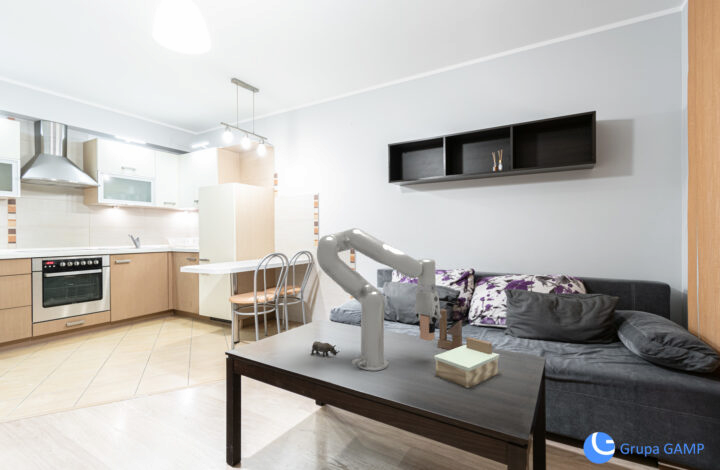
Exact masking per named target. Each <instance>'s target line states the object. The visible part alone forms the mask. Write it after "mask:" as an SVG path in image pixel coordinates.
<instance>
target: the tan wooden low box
mask: <svg viewBox="0 0 720 470" xmlns="http://www.w3.org/2000/svg"><path fill="white" fill-rule="evenodd" d="M498 360H499V358H497V359H495V360H493V361H491V362H489V363H486V364H484V365H482V366H480V367H478V368H475V369H473V370H471V371H466V370H463V369H461V368H458V367H455V366H452V365H449V364H446V363H444V362H441V361H438V360H435V376H436V377H438V378H440V379H444V380H446V381H449V382H450V383H451V382H452V383H453V384H457V385H459V386H462V387H464V388H466V389H470V388H473V387H474V386H476V385H478V384H480V383H482V382H484V381H486V380H488V379H490V378H491V377H492V378H493V377H494V376H496V375H497V374H498V375H499V373H498V372H499V371H498V369H499V368H498V364H499V363H498V362H499V361H498Z"/></svg>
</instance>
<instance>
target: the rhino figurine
mask: <svg viewBox="0 0 720 470" xmlns="http://www.w3.org/2000/svg"><path fill="white" fill-rule="evenodd" d="M336 346H337V344H335V345H332V344H330V343H328V342H321V341H314V342H313V344H312V346H311V353H310V354H311V356H314V355H315V354H317V355H320V353H322V355H321V357H322V358H325V357H326V356H327V357H328V356H330V354H331V355H332V356H337V354H339V352H340V350H338V351H337V349H335V347H336ZM329 352H330V353H329Z"/></svg>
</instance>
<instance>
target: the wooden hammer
mask: <svg viewBox="0 0 720 470" xmlns="http://www.w3.org/2000/svg"><path fill="white" fill-rule="evenodd" d="M440 314H441V316H442V317H441V318H440V319H438V324H439V325H438V326H439V327H438V328H439V330H438V331H439V333H438V334H439V335H438V337H439V339H437V347H438V348H440V349H444V350H447V351H449V350H452V349H455V348H458V347H461V346H463V320H462V319H461V320H459V321H457V322H456V323H455V324H454V325H453V326H452V327H450V329H448V311H447V309H445V308H440ZM448 335H449V336H451V339H448Z"/></svg>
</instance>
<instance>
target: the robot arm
mask: <svg viewBox="0 0 720 470" xmlns="http://www.w3.org/2000/svg"><path fill="white" fill-rule="evenodd" d="M349 250H355V251H356V252H358V253H360V254H362V255H364V256H365V257H367V258H369V259H371V260H372V261H375V263H376V262H377V263H379V264H381V265H385V266H387V267H389V268H391V269H393V270H395V271H397V272H399V273H400V274H401V275H402V276H404V277H407V278H409V279H417V290H416V294H415V302H414V306H415V308H414V309H413V314H415V316H416V317H417V320H418V322H419V323H418V324H419V325H418V326H419V331H420V315H426V316H429V319H430V324H429V333H434V332H435V333H436V323H437V322H439V319H440V318H441V317H442V316H441V314H440V309H441V306H440V298H439V294H438V291H437V290H438V286H437V285H436V283H437V282H436V279H437V278H436V261H435V260H434V259H432V258H420V259H416V258H414V257H412V256H409V255H408V254H406V253H404V252H402V251H400V250H399V249H396V248H395V247H393V246H392V245H389V244H388V243H386V242H384V241H383V240H380V239H378V238H376V237H375V236H373V235H371V234H369V233H367V232H366V231H364V230H361V229H360V228H356V227H355V228H350V229H347V230H344V231H343V230H342V231H340V232H336V233H332V234H327V235H324V236H322V237H321V238H320V239H319V240H318V243H317V248H316V260H317V262H318V266H319V268H320V269H321V270H322V271H323V272H324V273H325V274H326V275H327V276H328V277H329V278H330V279H331V280H332V281H333V282H334V283H336V285H338V286H339V287H340V288H341V289H342V290H343V291H344V292H345V293H346V294H348V295H350V296H351V297H353V298H354V299H355V301H356V302H358V303H359V304H361V313H360V353H359V354H358V357H357V358H354V359H352V360H351V365H353V366H354V365H357V366H358V368H359V369H362V370H365V371H372V372H373V371H374V372H375V371H376V372H377V371H381V370H384V369H386V368H387V367H388V365H389V362H388V361H387V359H385V308H386V300H385V299H386V298H385V295H384V294H383V293H382V291H381V290H379V289H378V288H376V287H375V286H374V285H373V284H372V283H370V282H369V281H368V280H367V279H365V278H364V277H363V276H362V274H360V273H359V272H358V271H356V270H354V268H351V267H350V266H349V265H348V264H347V263H346V262H345V261H344V260H342V259H341V258H340V256H339V254H338V253H342V252H345V251H349ZM432 317H433V319H432Z"/></svg>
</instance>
